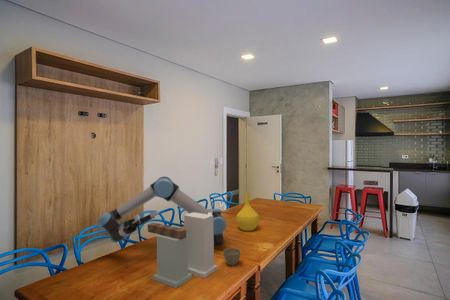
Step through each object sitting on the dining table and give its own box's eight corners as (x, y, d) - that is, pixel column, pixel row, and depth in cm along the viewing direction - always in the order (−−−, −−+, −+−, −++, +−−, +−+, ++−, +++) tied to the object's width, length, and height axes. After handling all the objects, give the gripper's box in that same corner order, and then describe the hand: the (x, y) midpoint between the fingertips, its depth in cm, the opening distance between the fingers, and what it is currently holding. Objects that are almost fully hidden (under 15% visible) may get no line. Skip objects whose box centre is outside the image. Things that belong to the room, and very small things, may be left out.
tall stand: (181, 270, 144) (180, 215, 144) (195, 262, 154) (194, 211, 154) (204, 278, 136) (203, 219, 135) (217, 269, 146) (216, 214, 145)
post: (153, 279, 135) (152, 236, 135) (170, 270, 145) (169, 230, 145) (175, 288, 126) (175, 242, 126) (192, 277, 136) (191, 235, 136)
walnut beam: (147, 231, 143) (147, 224, 143) (153, 229, 146) (153, 222, 146) (180, 239, 130) (180, 231, 130) (186, 237, 133) (186, 229, 133)
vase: (233, 231, 210) (233, 194, 210) (239, 225, 228) (239, 190, 227) (256, 233, 204) (255, 195, 204) (261, 227, 222) (260, 191, 221)
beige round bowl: (230, 258, 160) (230, 246, 160) (244, 262, 153) (244, 250, 153) (220, 264, 152) (219, 251, 152) (233, 269, 146) (233, 256, 146)
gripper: (146, 228, 169) (166, 215, 159) (111, 240, 148) (132, 225, 138) (142, 217, 171) (162, 203, 161) (106, 227, 150) (127, 212, 140)
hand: (148, 213), depth 149 cm, fingers open, 13 cm apart
